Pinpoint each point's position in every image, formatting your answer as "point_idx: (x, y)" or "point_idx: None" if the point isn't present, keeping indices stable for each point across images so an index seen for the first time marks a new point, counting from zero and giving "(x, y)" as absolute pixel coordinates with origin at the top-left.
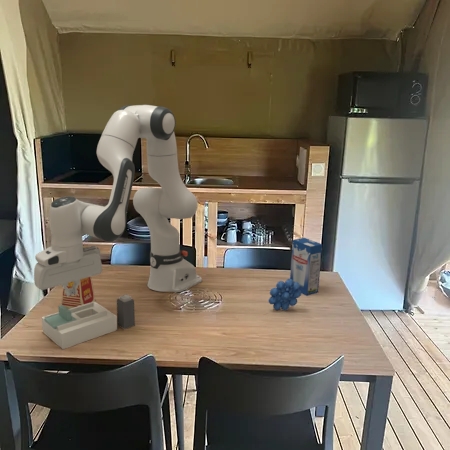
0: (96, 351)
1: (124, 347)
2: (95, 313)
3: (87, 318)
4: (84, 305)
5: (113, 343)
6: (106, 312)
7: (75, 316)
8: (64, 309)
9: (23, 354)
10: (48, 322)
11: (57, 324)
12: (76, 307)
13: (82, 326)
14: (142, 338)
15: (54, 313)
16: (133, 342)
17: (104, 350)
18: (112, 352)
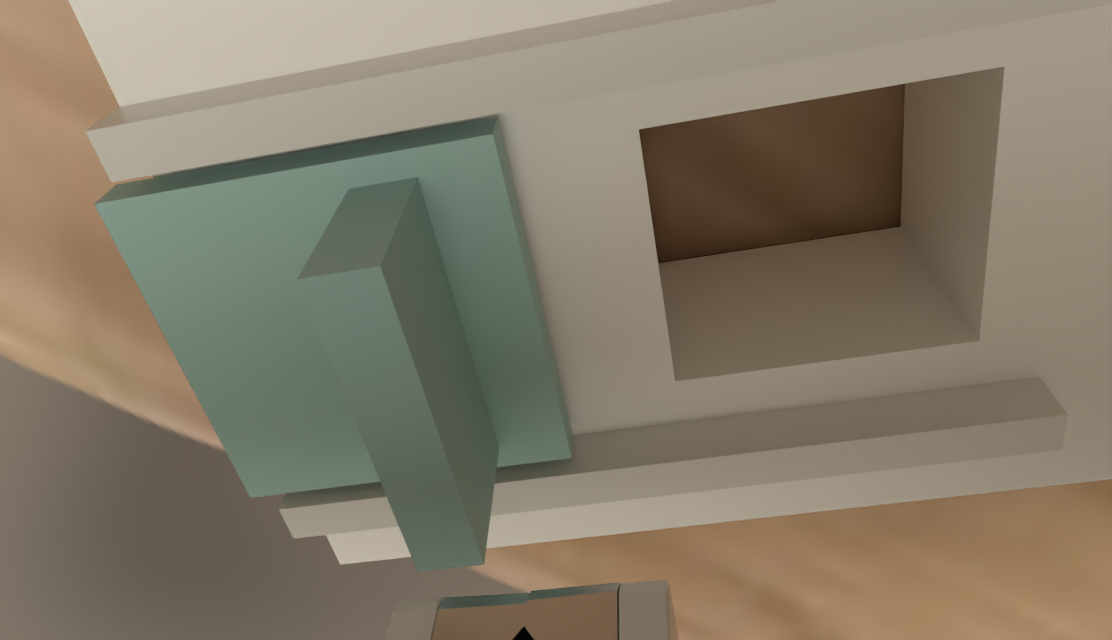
0: (643, 572)
1: (868, 615)
2: (971, 168)
3: (717, 481)
4: (906, 33)
5: (829, 535)
6: (1046, 441)
7: (617, 237)
8: (391, 465)
9: (10, 346)
10: (172, 338)
11: (294, 466)
12: (724, 49)
13: (603, 524)
14: (1091, 574)
15: (269, 106)
16: (980, 590)
17: (707, 586)
18: (748, 629)
